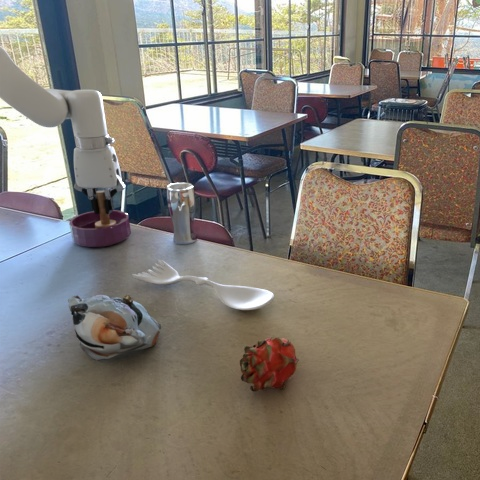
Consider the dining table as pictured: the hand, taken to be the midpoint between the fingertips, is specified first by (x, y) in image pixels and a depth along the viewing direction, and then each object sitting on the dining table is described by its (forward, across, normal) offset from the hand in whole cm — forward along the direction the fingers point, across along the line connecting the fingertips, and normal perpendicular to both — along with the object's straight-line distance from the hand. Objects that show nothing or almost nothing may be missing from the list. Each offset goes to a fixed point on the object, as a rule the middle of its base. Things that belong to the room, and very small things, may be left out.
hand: (104, 212), depth 125 cm
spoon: (+8, -31, +29) cm, 43 cm away
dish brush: (+6, 0, 0) cm, 6 cm away
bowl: (+7, +1, 0) cm, 8 cm away
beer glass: (+8, -21, +1) cm, 22 cm away
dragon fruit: (+8, -47, +57) cm, 74 cm away
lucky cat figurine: (+8, -20, +48) cm, 53 cm away
